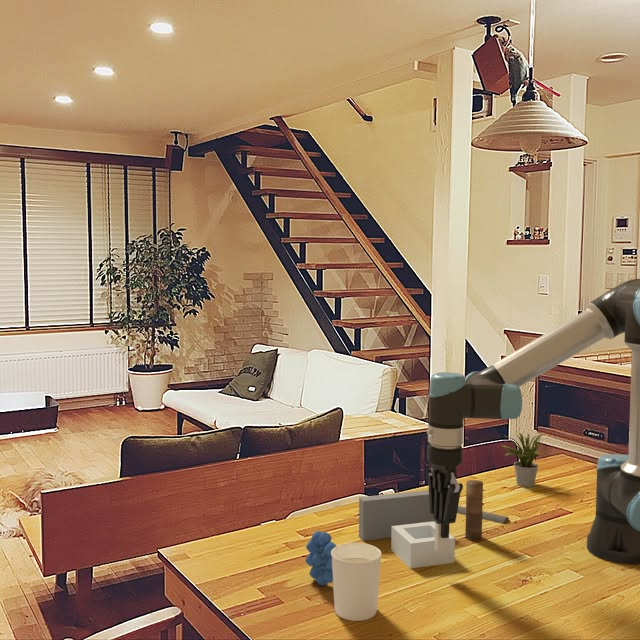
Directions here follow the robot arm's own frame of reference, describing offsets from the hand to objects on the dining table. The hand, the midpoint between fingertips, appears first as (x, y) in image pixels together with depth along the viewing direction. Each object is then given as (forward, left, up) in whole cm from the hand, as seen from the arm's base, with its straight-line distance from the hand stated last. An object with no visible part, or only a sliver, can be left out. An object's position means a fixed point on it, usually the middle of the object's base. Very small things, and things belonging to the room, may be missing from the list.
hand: (441, 550), depth 162 cm
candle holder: (-10, +24, -6) cm, 26 cm away
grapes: (+3, +26, -6) cm, 26 cm away
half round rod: (+32, -25, -6) cm, 41 cm away
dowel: (+17, -17, -6) cm, 25 cm away
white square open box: (+10, 0, -6) cm, 12 cm away
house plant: (+51, -54, -6) cm, 75 cm away
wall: (+24, 0, -6) cm, 25 cm away
